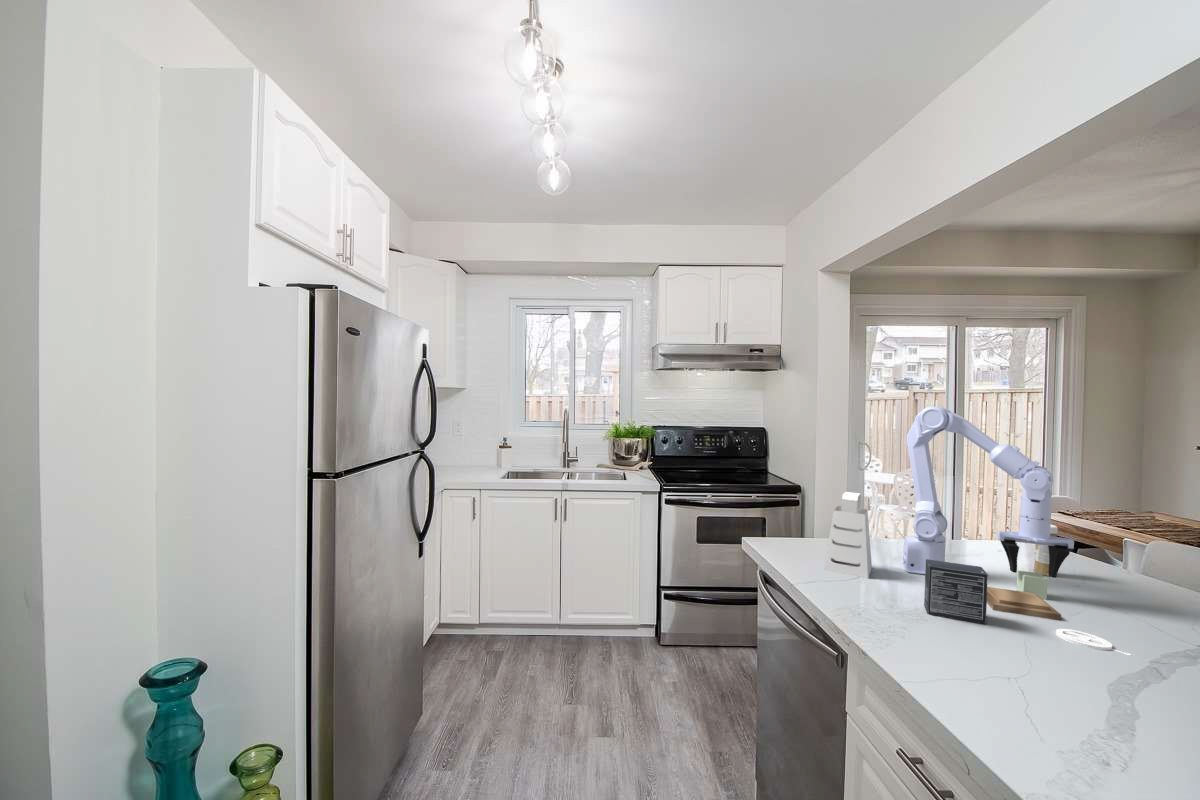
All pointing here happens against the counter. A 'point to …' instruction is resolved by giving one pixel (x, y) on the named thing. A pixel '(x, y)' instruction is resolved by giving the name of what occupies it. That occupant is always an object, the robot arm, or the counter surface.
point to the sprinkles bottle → (1043, 555)
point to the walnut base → (1020, 603)
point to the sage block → (1032, 583)
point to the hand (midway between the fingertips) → (1032, 573)
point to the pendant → (1085, 640)
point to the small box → (956, 591)
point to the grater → (849, 538)
